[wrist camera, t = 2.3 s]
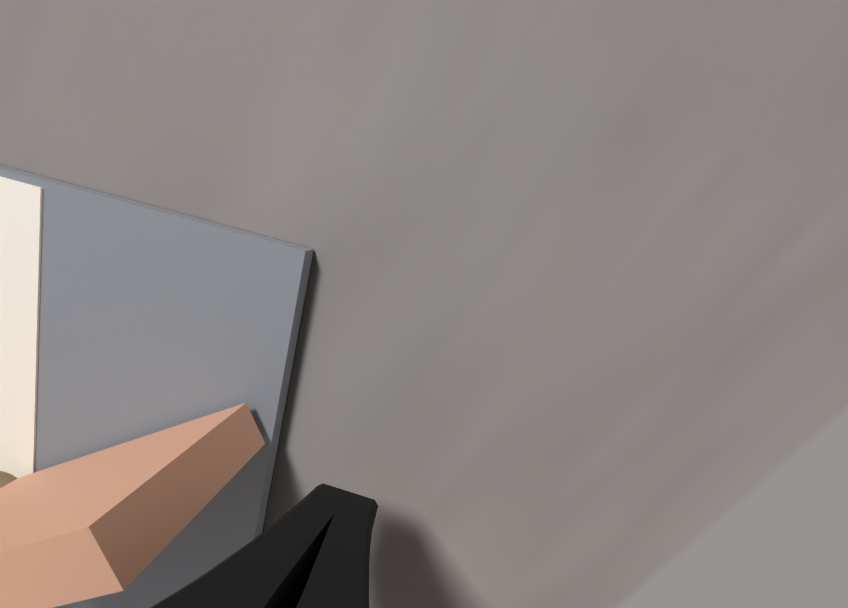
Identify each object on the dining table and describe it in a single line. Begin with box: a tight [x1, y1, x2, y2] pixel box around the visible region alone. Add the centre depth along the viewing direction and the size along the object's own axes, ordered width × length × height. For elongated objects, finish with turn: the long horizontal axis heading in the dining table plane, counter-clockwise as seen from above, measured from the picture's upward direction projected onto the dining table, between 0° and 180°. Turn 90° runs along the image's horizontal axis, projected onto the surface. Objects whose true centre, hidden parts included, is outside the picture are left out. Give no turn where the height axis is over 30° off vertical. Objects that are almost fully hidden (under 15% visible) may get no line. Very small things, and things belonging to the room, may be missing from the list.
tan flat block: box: [0, 403, 265, 608], centre depth 10 cm, size 8×1×4 cm, turn 111°
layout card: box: [0, 165, 314, 608], centre depth 13 cm, size 16×14×1 cm
